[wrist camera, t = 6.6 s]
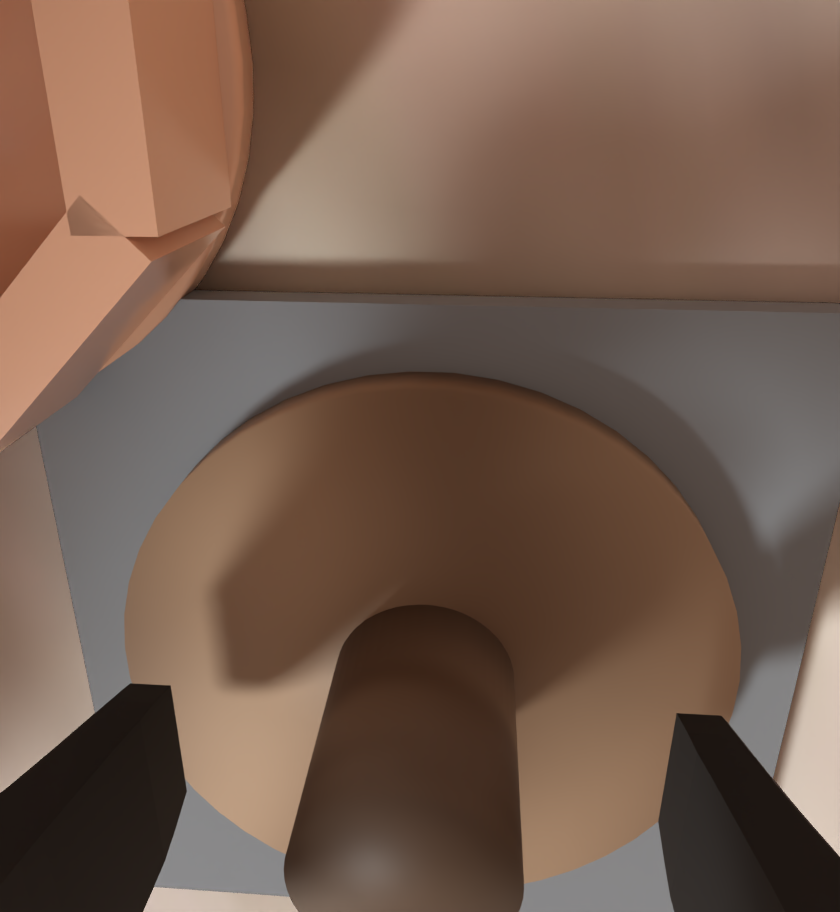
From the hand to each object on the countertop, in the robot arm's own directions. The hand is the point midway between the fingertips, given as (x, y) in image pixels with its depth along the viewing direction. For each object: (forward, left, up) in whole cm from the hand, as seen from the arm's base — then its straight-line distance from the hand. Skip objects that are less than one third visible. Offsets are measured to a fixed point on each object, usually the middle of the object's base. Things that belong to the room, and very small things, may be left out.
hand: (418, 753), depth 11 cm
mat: (0, 0, -3) cm, 3 cm away
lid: (0, 0, -2) cm, 2 cm away
